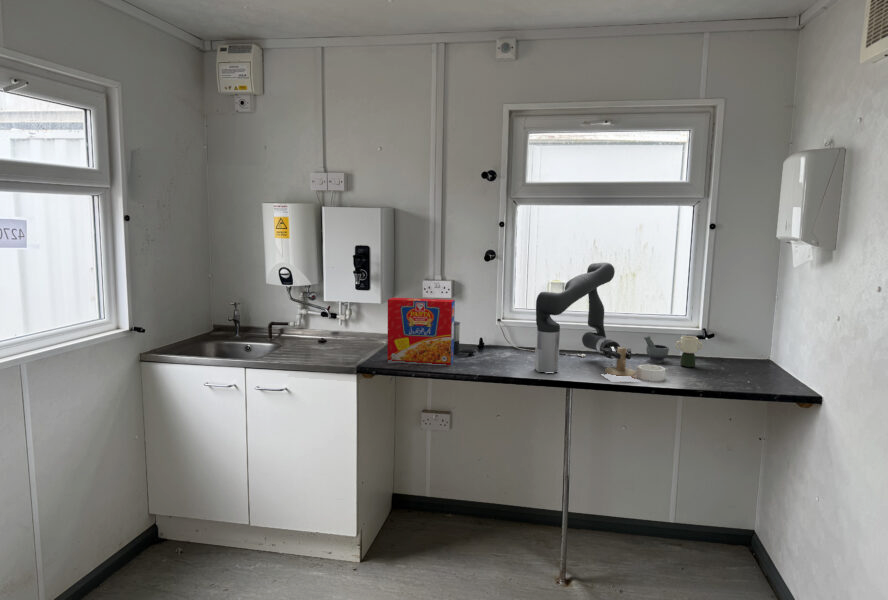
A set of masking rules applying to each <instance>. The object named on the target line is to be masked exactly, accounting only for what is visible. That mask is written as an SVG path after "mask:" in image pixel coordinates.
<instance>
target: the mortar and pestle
mask: <svg viewBox="0 0 888 600" xmlns="http://www.w3.org/2000/svg"><path fill="white" fill-rule="evenodd" d="M643 339H644V340H645V342H646V354H647V356H648V357H649V358H650V359H649V362H650V361H651V363H654V362H656V363H655V364H662V363H661V362H665V360H664V359H666V358H667V356H668V355H669V351H670V347H669V346H667V345H662V344H654V341H653V340H652V338H651V336H650V335H649V334H647V335H645V336H644V337H643Z"/></svg>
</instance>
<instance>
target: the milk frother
mask: <svg viewBox="0 0 888 600" xmlns="http://www.w3.org/2000/svg"><path fill="white" fill-rule="evenodd" d="M460 324H461V322H460V321H457V320H454V355H458V354H457V353H459V354H460V353H461V354H469V355H470V354H473V355H474V354H475V353H476V352H477V350H475V349H472V348H470V349H462V350H461V349H460V326H461V325H460Z"/></svg>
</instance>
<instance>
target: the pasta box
mask: <svg viewBox="0 0 888 600" xmlns="http://www.w3.org/2000/svg"><path fill="white" fill-rule="evenodd" d="M455 301H456V300H455V299H441V298H440V299H439V298H416V297H415V298H413V297H390V298H388V299H387V361H388V360H392V361H405V362H417V363H432V364H446V365H451V364H452V363H453V364H454V362H455V359H454V358H455V357H454V355H455V354H454V321H455V312H456V311H455V309H456V308H455V305H456V304H455ZM453 361H454V362H453ZM453 364H452V365H453ZM452 365H451V366H452Z"/></svg>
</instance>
